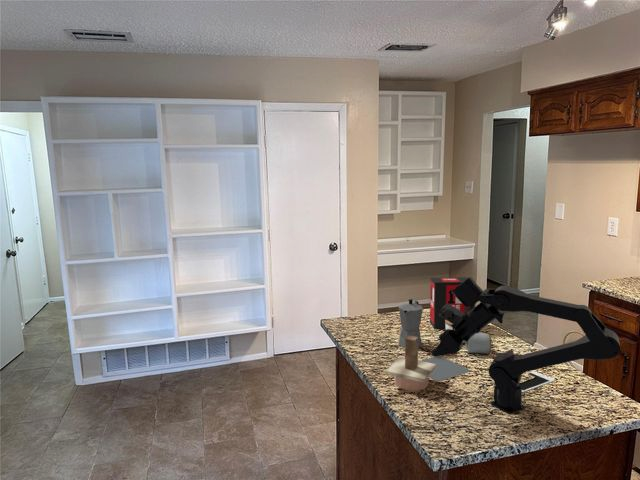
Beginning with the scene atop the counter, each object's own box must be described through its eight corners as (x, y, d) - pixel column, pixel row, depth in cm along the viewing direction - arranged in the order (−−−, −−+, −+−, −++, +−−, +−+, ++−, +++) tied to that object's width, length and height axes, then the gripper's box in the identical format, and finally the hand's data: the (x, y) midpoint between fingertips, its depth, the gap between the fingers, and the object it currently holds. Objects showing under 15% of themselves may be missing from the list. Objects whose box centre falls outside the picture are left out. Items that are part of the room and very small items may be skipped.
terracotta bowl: (434, 386, 136) (435, 372, 136) (409, 395, 132) (409, 380, 131) (413, 374, 145) (413, 361, 144) (388, 381, 140) (388, 368, 140)
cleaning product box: (467, 322, 196) (469, 277, 193) (473, 328, 187) (475, 282, 185) (429, 322, 197) (430, 277, 194) (434, 329, 188) (435, 282, 185)
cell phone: (555, 381, 139) (555, 379, 139) (521, 394, 132) (521, 392, 132) (533, 372, 146) (533, 370, 146) (499, 383, 138) (499, 382, 138)
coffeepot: (416, 353, 162) (417, 305, 160) (392, 348, 167) (392, 302, 165) (429, 339, 176) (429, 295, 173) (405, 336, 180) (406, 292, 178)
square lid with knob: (436, 367, 140) (436, 334, 138) (424, 382, 130) (425, 347, 128) (399, 359, 146) (399, 328, 144) (385, 374, 136) (385, 340, 134)
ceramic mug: (492, 357, 158) (492, 336, 157) (468, 356, 159) (468, 335, 158) (486, 346, 168) (486, 326, 167) (463, 345, 170) (464, 325, 169)
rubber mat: (471, 372, 146) (471, 370, 146) (437, 383, 139) (437, 381, 139) (439, 356, 159) (439, 355, 159) (406, 365, 152) (406, 364, 152)
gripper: (465, 290, 136) (430, 320, 143) (447, 304, 120) (408, 337, 127) (492, 319, 132) (454, 348, 140) (476, 337, 117) (434, 369, 124)
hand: (438, 349), depth 133 cm, fingers open, 9 cm apart
